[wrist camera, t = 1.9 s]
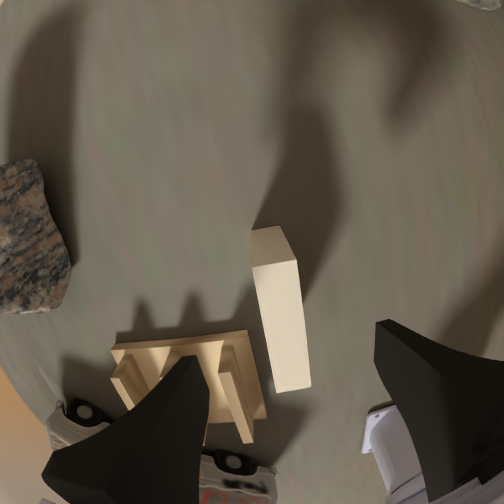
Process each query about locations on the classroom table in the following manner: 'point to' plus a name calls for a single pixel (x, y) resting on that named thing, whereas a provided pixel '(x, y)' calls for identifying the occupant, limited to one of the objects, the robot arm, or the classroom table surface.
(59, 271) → the stone
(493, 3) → the vessel
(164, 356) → the rack
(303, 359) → the tall cream block
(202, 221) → the classroom table surface
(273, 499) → the toy car
